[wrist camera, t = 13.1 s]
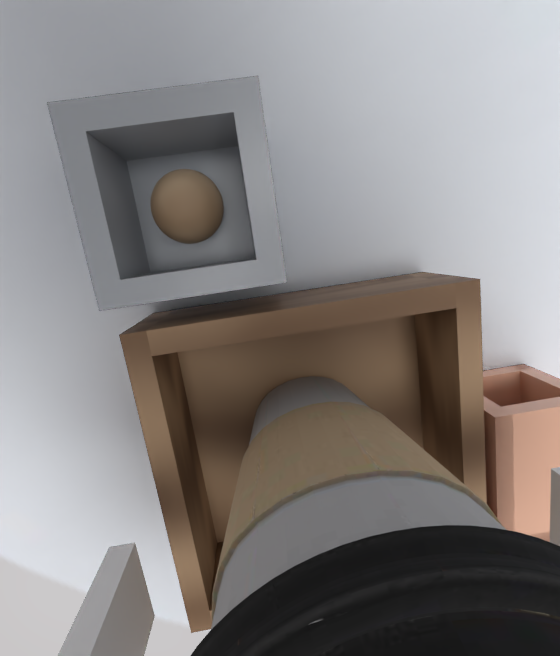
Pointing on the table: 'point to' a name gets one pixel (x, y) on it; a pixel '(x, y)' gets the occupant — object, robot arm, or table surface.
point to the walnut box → (291, 363)
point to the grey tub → (149, 167)
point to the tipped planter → (521, 446)
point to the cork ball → (187, 206)
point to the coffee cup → (369, 546)
